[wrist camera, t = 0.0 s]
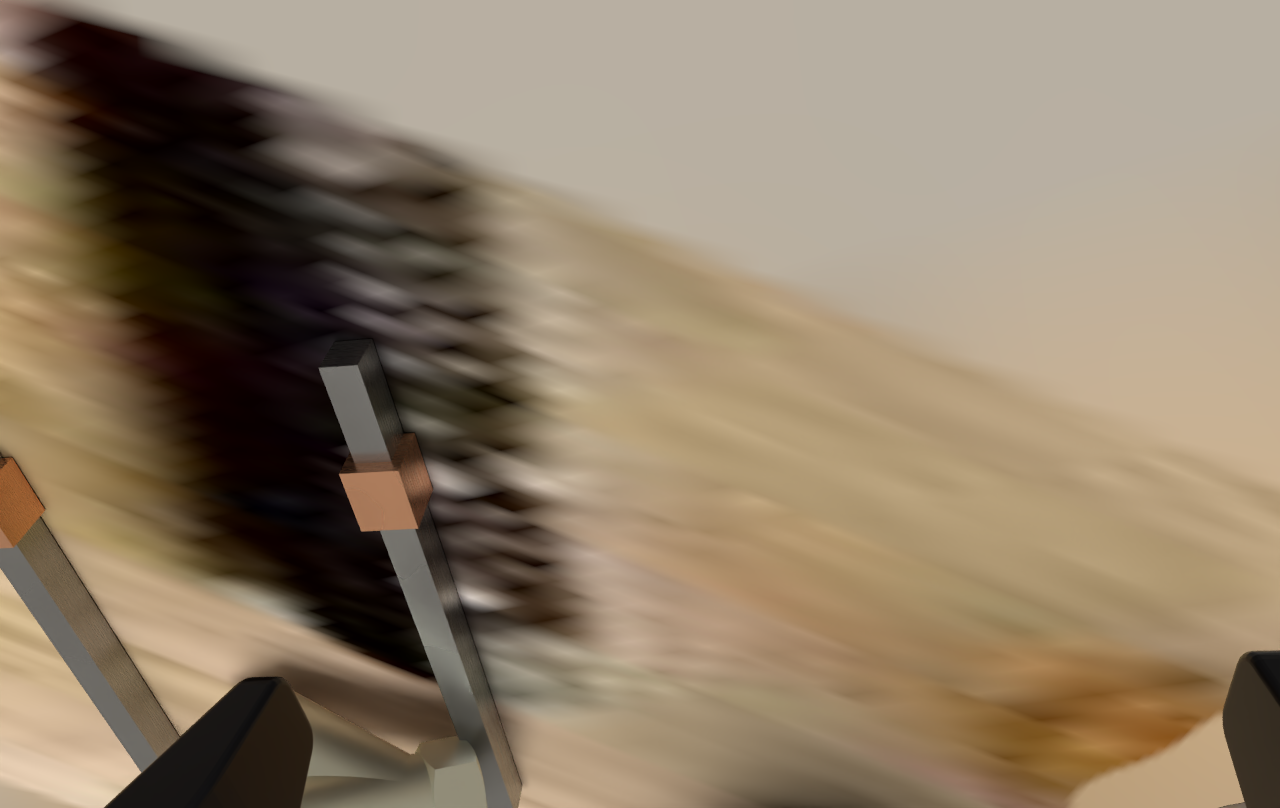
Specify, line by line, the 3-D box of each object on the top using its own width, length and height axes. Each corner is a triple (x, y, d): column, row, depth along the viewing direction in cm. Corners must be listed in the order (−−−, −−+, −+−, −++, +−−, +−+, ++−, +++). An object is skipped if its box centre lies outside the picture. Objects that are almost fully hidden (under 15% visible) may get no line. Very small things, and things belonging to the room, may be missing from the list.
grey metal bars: (530, 786, 36) (522, 827, 35) (180, 789, 38) (161, 828, 37) (383, 338, 25) (364, 373, 24) (-96, 374, 27) (-138, 408, 26)
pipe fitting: (196, 747, 34) (208, 944, 29) (193, 672, 32) (206, 872, 27) (432, 707, 37) (477, 877, 32) (444, 636, 35) (495, 808, 30)
